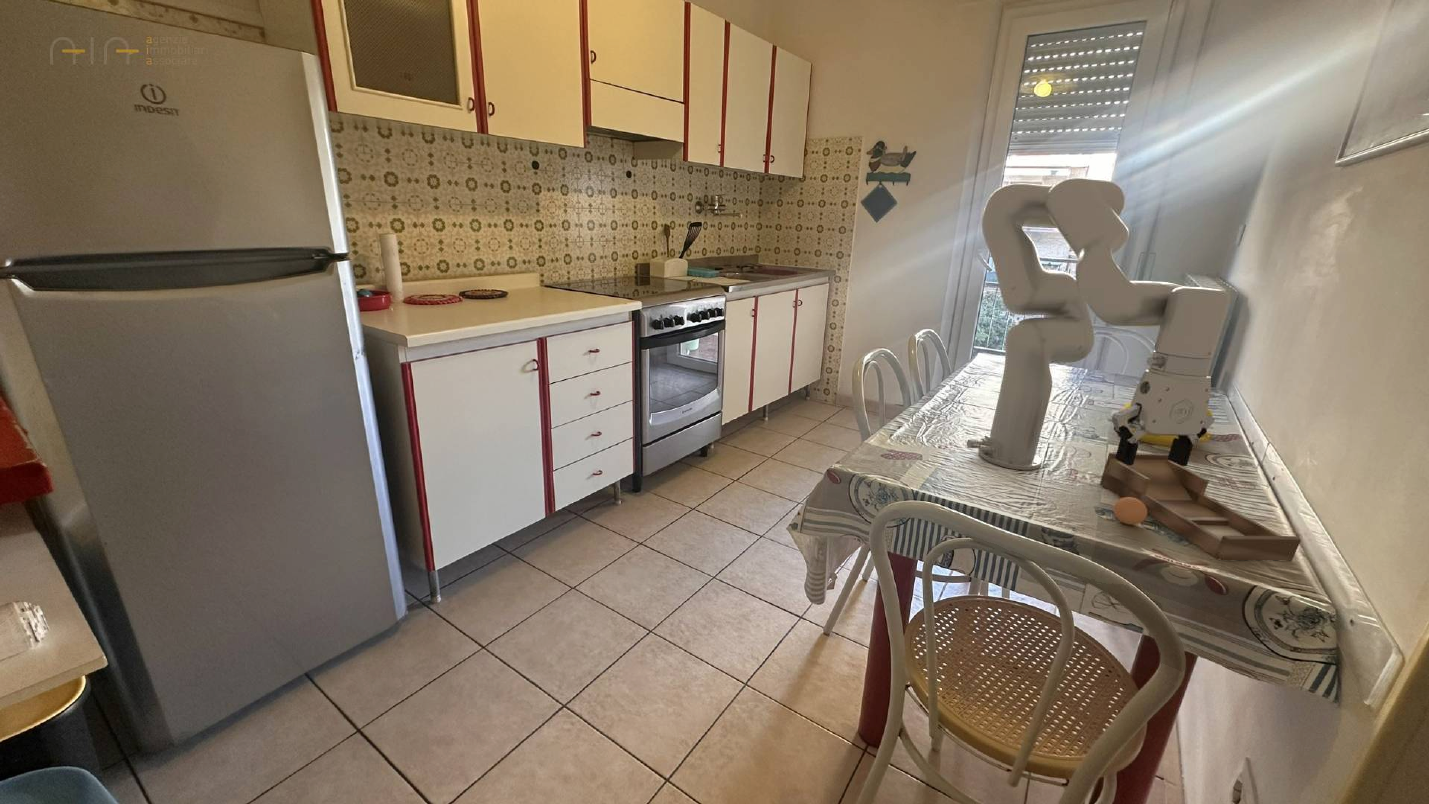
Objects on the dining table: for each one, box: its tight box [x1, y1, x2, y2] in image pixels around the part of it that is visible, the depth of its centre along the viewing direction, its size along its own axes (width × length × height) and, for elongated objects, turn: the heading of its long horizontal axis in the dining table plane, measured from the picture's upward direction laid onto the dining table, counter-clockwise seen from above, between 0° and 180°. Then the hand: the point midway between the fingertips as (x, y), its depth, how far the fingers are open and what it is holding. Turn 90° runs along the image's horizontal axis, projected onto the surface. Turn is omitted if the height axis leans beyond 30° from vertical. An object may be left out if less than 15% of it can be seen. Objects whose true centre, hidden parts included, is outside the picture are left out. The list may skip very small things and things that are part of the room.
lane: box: [1099, 452, 1302, 561], centre depth 102 cm, size 27×13×7 cm, turn 4°
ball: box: [1113, 497, 1148, 526], centre depth 99 cm, size 5×5×5 cm
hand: (1150, 462), depth 96 cm, fingers open, 9 cm apart
